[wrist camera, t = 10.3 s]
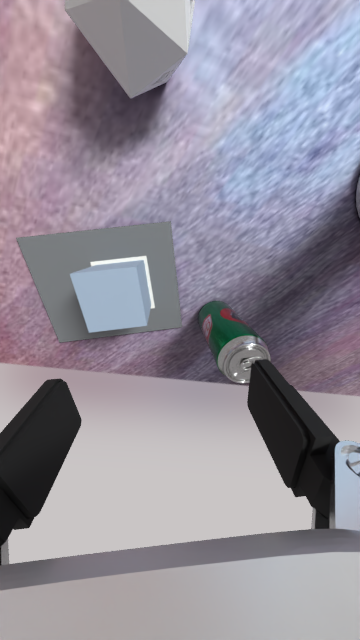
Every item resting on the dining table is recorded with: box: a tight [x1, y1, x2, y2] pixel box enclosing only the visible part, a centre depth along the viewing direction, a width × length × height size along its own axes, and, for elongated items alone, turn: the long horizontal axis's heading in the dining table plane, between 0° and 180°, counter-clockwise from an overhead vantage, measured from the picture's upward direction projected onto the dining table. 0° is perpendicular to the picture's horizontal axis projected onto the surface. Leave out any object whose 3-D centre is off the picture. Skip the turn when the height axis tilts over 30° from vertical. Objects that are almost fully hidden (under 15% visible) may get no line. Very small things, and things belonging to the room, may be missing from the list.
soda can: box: [198, 301, 271, 383], centre depth 22 cm, size 5×5×12 cm
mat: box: [16, 221, 182, 342], centre depth 24 cm, size 18×14×1 cm
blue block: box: [70, 260, 151, 333], centre depth 21 cm, size 6×6×7 cm
